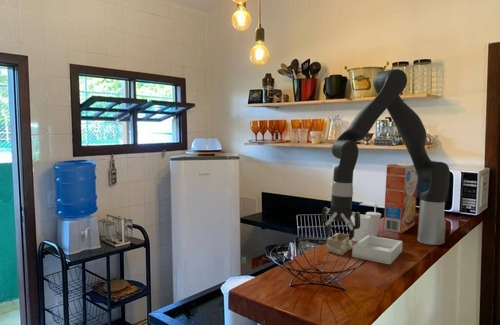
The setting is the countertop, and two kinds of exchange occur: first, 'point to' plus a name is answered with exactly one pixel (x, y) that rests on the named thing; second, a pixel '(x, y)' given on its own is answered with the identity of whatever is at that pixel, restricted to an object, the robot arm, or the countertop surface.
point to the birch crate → (339, 243)
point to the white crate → (377, 249)
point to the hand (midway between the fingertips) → (339, 237)
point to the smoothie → (374, 222)
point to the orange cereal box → (400, 197)
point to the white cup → (361, 227)
